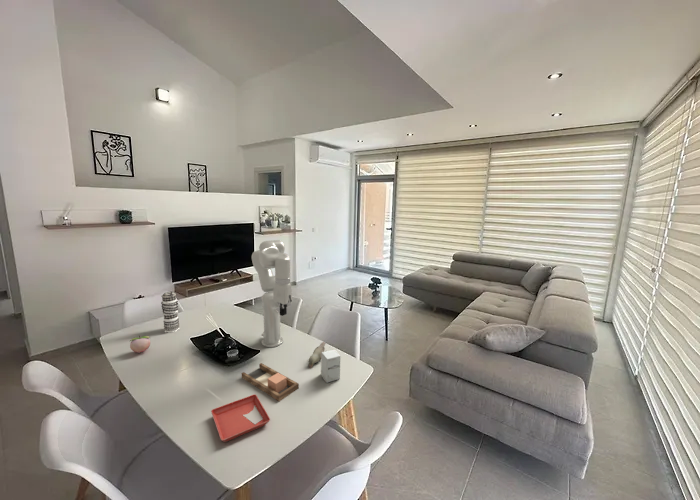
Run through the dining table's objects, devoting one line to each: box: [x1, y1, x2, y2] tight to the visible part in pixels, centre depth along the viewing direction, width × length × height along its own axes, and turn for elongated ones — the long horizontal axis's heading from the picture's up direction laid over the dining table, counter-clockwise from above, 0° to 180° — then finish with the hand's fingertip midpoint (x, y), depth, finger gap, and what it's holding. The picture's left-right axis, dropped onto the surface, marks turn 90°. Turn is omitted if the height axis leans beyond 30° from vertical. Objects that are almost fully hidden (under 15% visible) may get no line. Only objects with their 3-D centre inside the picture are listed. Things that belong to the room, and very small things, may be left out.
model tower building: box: [160, 291, 180, 333], centre depth 190 cm, size 9×9×25 cm
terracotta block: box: [268, 372, 288, 393], centre depth 136 cm, size 6×6×5 cm
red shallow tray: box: [210, 393, 271, 443], centre depth 116 cm, size 18×18×3 cm
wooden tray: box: [241, 362, 300, 402], centre depth 139 cm, size 27×11×3 cm, turn 54°
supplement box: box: [320, 349, 341, 384], centre depth 145 cm, size 7×7×13 cm
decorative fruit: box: [129, 335, 151, 353], centre depth 163 cm, size 9×8×10 cm
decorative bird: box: [307, 341, 326, 369], centre depth 160 cm, size 5×16×8 cm, turn 158°
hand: (283, 314), depth 154 cm, fingers closed
